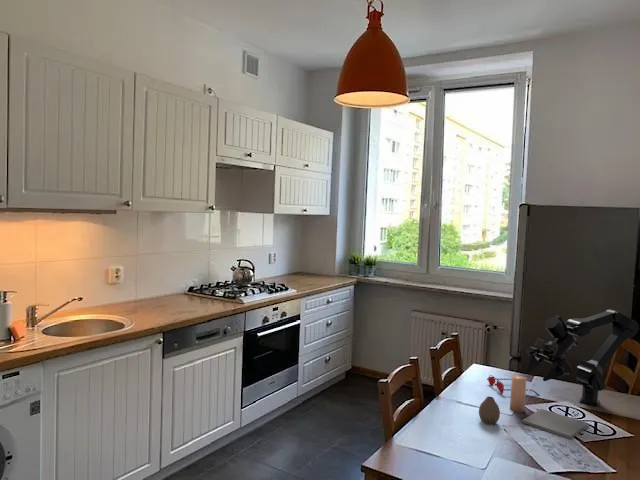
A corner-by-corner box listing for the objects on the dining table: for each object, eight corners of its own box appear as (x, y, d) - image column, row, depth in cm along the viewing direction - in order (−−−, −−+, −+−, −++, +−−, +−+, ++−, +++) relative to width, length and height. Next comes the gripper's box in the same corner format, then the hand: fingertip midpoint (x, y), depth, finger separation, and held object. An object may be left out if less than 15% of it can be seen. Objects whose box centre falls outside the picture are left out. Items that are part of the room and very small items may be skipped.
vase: (500, 427, 173) (502, 402, 172) (479, 425, 174) (480, 400, 174) (497, 419, 180) (499, 395, 179) (477, 417, 181) (478, 393, 180)
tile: (541, 411, 189) (541, 408, 189) (588, 425, 177) (588, 423, 177) (522, 422, 178) (522, 419, 178) (570, 438, 166) (570, 435, 166)
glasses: (485, 384, 218) (486, 373, 218) (522, 384, 220) (523, 373, 219) (501, 396, 204) (501, 384, 204) (540, 396, 206) (540, 384, 206)
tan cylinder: (511, 405, 193) (513, 374, 193) (525, 409, 190) (527, 377, 190) (508, 409, 189) (510, 378, 188) (522, 413, 186) (524, 381, 186)
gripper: (531, 326, 201) (506, 355, 198) (568, 338, 183) (541, 370, 180) (546, 345, 204) (522, 373, 201) (584, 358, 186) (557, 390, 183)
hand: (534, 376), depth 191 cm, fingers open, 9 cm apart
